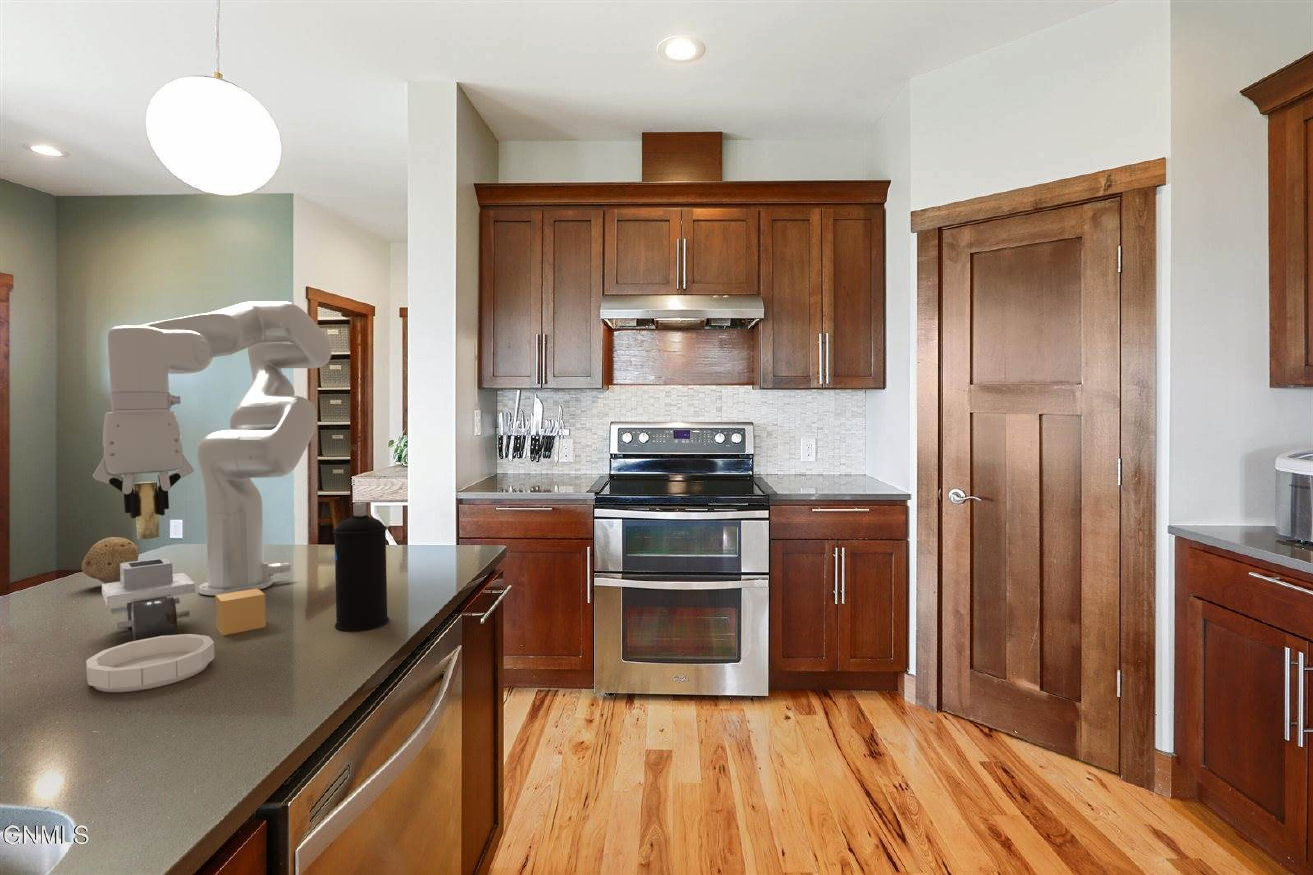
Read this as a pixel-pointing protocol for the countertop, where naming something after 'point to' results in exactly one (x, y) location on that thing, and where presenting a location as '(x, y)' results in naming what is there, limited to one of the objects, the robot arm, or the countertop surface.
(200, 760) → the countertop surface
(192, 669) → the dish
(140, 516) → the pin
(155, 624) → the white stand
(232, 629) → the orange cube
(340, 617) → the aerosol can
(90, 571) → the natural sponge
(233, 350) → the robot arm
